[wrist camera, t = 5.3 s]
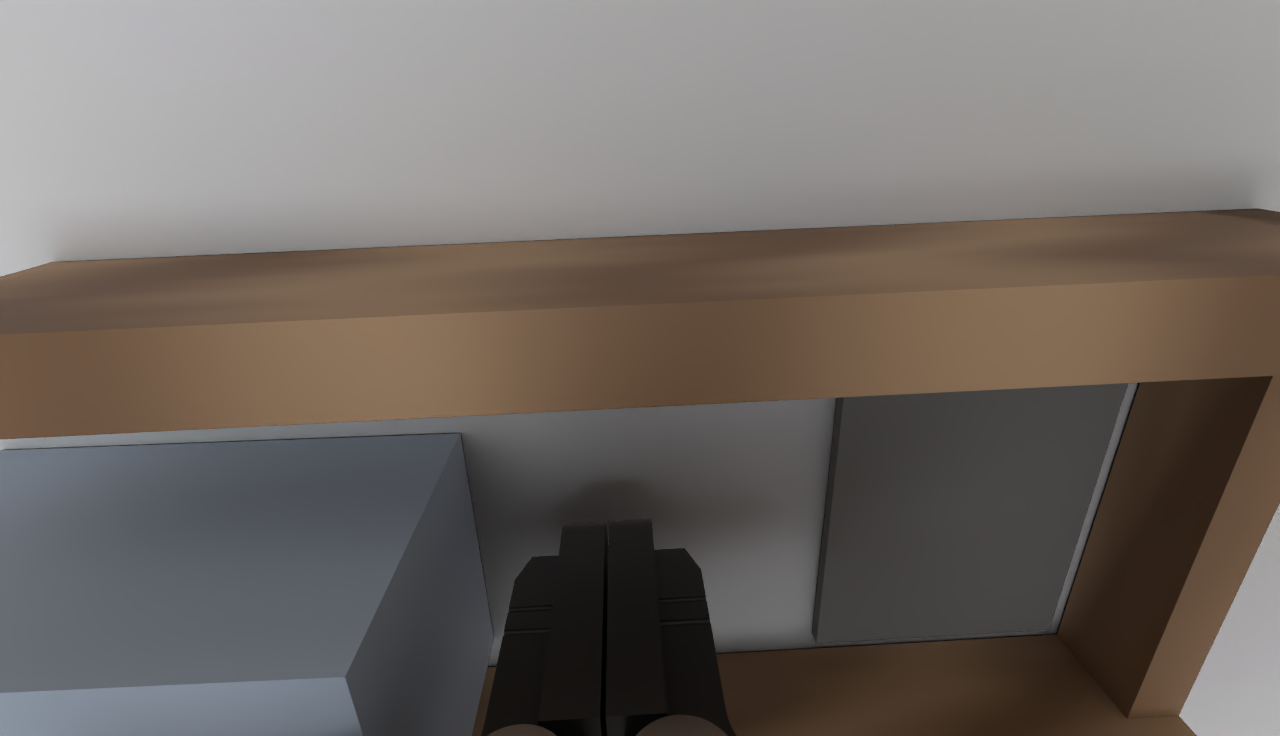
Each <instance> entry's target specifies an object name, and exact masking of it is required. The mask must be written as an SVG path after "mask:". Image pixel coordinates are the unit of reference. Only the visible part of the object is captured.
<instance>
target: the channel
mask: <svg viewBox="0 0 1280 736" xmlns="http://www.w3.org/2000/svg"><path fill="white" fill-rule="evenodd" d="M1139 382H1140V384H1139V387H1138V390H1137V393H1136V396H1135V399H1134V402H1133V405H1132V408H1131V412H1130V415H1129V418H1128V421H1127V424H1126V427H1125V430H1124V433H1123V436H1122V439H1121V442H1120V445H1119V448H1118V451H1117V454H1116V457H1115V460H1114V463H1113V466H1112V469H1111V472H1110V475H1109V478H1108V481H1107V484H1106V487H1105V490H1104V493H1103V497H1102V500H1101V503H1100V506H1099V509H1098V512H1097V515H1096V518H1095V521H1094V524H1093V527H1092V530H1091V533H1090V536H1089V539H1088V542H1087V545H1086V548H1085V551H1084V554H1083V557H1082V560H1081V563H1080V566H1079V569H1078V572H1077V575H1076V578H1075V582H1074V585H1073V588H1072V591H1071V594H1070V597H1069V600H1068V603H1067V606H1066V609H1065V612H1064V615H1063V618H1062V621H1061V624H1060V627H1059V630H1058V633H1057V635H1041V636H1023V637H1006V638H989V639H971V640H954V641H937V642H919V643H902V644H885V645H867V646H850V647H833V648H815V649H798V650H781V651H763V652H746V653H729V654H716V656H717V662H718V668H719V673H720V679H721V684H722V690H723V695H724V701H725V706H726V712H727V715H728V719H729V722H730V724H731V726H732V729H733V731H734V732H735V734H736V736H1196V734H1195V733H1194V732H1193V731H1192V730H1191V729H1190V728H1189V727H1188V726H1187V725H1186V724H1185V722H1184V721H1183V720H1182V719H1181V718H1180V717H1179V714H1180V712H1181V709H1182V707H1183V705H1184V703H1185V701H1186V699H1187V697H1188V695H1189V693H1190V690H1191V688H1192V686H1193V684H1194V682H1195V680H1196V678H1197V676H1198V674H1199V672H1200V669H1201V667H1202V665H1203V663H1204V661H1205V659H1206V657H1207V655H1208V653H1209V650H1210V648H1211V646H1212V644H1213V642H1214V640H1215V638H1216V636H1217V634H1218V632H1219V629H1220V627H1221V625H1222V623H1223V621H1224V619H1225V617H1226V615H1227V613H1228V610H1229V608H1230V606H1231V604H1232V602H1233V600H1234V598H1235V596H1236V594H1237V592H1238V589H1239V587H1240V585H1241V583H1242V581H1243V579H1244V577H1245V575H1246V573H1247V570H1248V568H1249V566H1250V564H1251V562H1252V560H1253V558H1254V556H1255V554H1256V552H1257V549H1258V547H1259V545H1260V543H1261V541H1262V539H1263V537H1264V535H1265V533H1266V530H1267V528H1268V526H1269V524H1270V522H1271V520H1272V518H1273V516H1274V514H1275V512H1276V509H1277V507H1278V505H1279V503H1280V212H1275V211H1269V210H1263V209H1237V210H1215V211H1192V212H1170V213H1147V214H1125V215H1103V216H1080V217H1058V218H1035V219H1013V220H990V221H968V222H945V223H923V224H901V225H878V226H856V227H833V228H811V229H788V230H766V231H743V232H721V233H699V234H676V235H654V236H631V237H609V238H586V239H564V240H541V241H519V242H496V243H474V244H452V245H429V246H407V247H384V248H362V249H339V250H317V251H294V252H272V253H250V254H227V255H205V256H182V257H160V258H137V259H115V260H92V261H70V262H51V263H48V264H44V265H41V266H37V267H33V268H30V269H26V270H23V271H19V272H16V273H12V274H9V275H5V276H2V277H0V439H16V438H36V437H56V436H76V435H96V434H116V433H136V432H156V431H176V430H196V429H217V428H237V427H257V426H277V425H297V424H317V423H337V422H357V421H377V420H397V419H417V418H437V417H457V416H477V415H497V414H517V413H537V412H557V411H577V410H597V409H617V408H637V407H657V406H678V405H698V404H718V403H738V402H758V401H778V400H798V399H818V398H838V397H858V396H878V395H898V394H918V393H938V392H958V391H978V390H998V389H1018V388H1038V387H1058V386H1078V385H1098V384H1118V383H1139ZM495 671H496V667H487V671H486V675H485V680H484V684H483V688H482V693H481V697H480V701H479V706H478V710H477V714H476V719H475V723H474V728H473V732H472V736H481V734H482V730H483V727H484V723H485V718H486V713H487V709H488V704H489V699H490V695H491V690H492V685H493V681H494V676H495Z"/></svg>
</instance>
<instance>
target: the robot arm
mask: <svg viewBox="0 0 1280 736" xmlns="http://www.w3.org/2000/svg"><path fill="white" fill-rule="evenodd" d="M481 736H736V734H735V732H734V731H733V729H732V726H731V724H730V722H729V719H728V715H727V712H726V706H725V701H724V695H723V690H722V684H721V679H720V673H719V668H718V662H717V656H716V651H715V645H714V640H713V634H712V629H711V624H710V617H709V612H708V606H707V601H706V595H705V590H704V584H703V579H702V573H701V569H700V568H699V567H698V565H697V564H696V563H695V561H694V560H693V559H692V557H691V556H690V555H689V553H688V552H687V551H686V550H685V548H678V549H660V550H654V544H653V532H652V521H651V519H638V520H619V521H609V545H608V532H607V523H606V521H605V522H587V523H568V524H564V525H563V528H562V535H561V543H560V551H559V555H557V556H539V557H532V558H531V559H530V561H529V562H528V563H527V565H526V566H525V567H524V569H523V570H522V572H521V573H520V574H519V576H518V577H517V578H516V580H515V582H514V587H513V592H512V596H511V601H510V606H509V613H508V615H507V620H506V624H505V629H504V636H503V638H502V643H501V648H500V652H499V657H498V662H497V667H496V671H495V676H494V681H493V685H492V690H491V695H490V699H489V704H488V709H487V713H486V718H485V723H484V727H483V730H482V734H481Z"/></svg>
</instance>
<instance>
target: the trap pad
mask: <svg viewBox="0 0 1280 736" xmlns="http://www.w3.org/2000/svg"><path fill="white" fill-rule="evenodd" d="M1127 385H1128V383H1118V384H1098V385H1078V386H1058V387H1038V388H1018V389H998V390H978V391H958V392H938V393H918V394H898V395H878V396H858V397H838V398H837V403H836V413H835V422H834V432H833V441H832V450H831V460H830V469H829V479H828V488H827V498H826V507H825V516H824V526H823V535H822V545H821V554H820V563H819V573H818V582H817V592H816V601H815V610H814V620H813V629H812V633H813V636H814V638H815V641H816V643H832V642H849V641H866V640H884V639H901V638H919V637H936V636H953V635H971V634H988V633H1005V632H1023V631H1040V630H1049V629H1050V625H1051V622H1052V619H1053V616H1054V613H1055V610H1056V607H1057V604H1058V600H1059V597H1060V594H1061V591H1062V588H1063V585H1064V582H1065V579H1066V576H1067V572H1068V569H1069V566H1070V563H1071V560H1072V557H1073V554H1074V551H1075V547H1076V544H1077V541H1078V538H1079V535H1080V532H1081V529H1082V526H1083V523H1084V519H1085V516H1086V513H1087V510H1088V507H1089V504H1090V501H1091V498H1092V494H1093V491H1094V488H1095V485H1096V482H1097V479H1098V476H1099V473H1100V470H1101V466H1102V463H1103V460H1104V457H1105V454H1106V451H1107V448H1108V445H1109V442H1110V438H1111V435H1112V432H1113V429H1114V426H1115V423H1116V420H1117V417H1118V413H1119V410H1120V407H1121V404H1122V401H1123V398H1124V395H1125V392H1126V389H1127Z"/></svg>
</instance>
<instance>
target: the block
mask: <svg viewBox="0 0 1280 736" xmlns="http://www.w3.org/2000/svg"><path fill="white" fill-rule="evenodd" d="M493 640H494V637H493V630H492V624H491V618H490V612H489V606H488V600H487V594H486V588H485V581H484V575H483V569H482V563H481V557H480V551H479V545H478V539H477V532H476V526H475V520H474V514H473V508H472V502H471V496H470V490H469V483H468V477H467V471H466V465H465V459H464V453H463V447H462V441H461V434H460V433H457V434H430V435H403V436H376V437H349V438H322V439H295V440H268V441H241V442H214V443H186V444H159V445H132V446H105V447H78V448H51V449H24V450H2V451H0V736H472V732H473V728H474V723H475V719H476V714H477V710H478V706H479V701H480V697H481V693H482V688H483V684H484V680H485V675H486V671H487V666H488V662H489V658H490V653H491V649H492V645H493Z"/></svg>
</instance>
